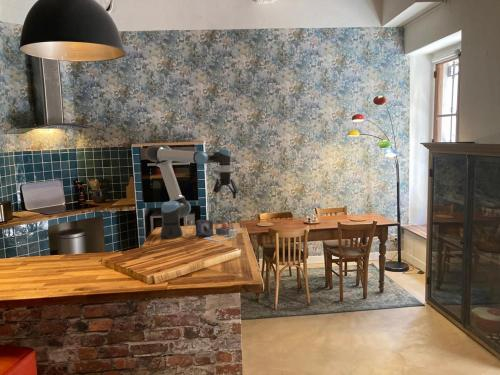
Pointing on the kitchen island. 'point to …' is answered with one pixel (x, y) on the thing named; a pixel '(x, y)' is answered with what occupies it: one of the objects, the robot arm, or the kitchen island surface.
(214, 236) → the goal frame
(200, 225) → the small box
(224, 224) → the dome plunger
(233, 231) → the die
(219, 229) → the button collar
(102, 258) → the kitchen island surface
